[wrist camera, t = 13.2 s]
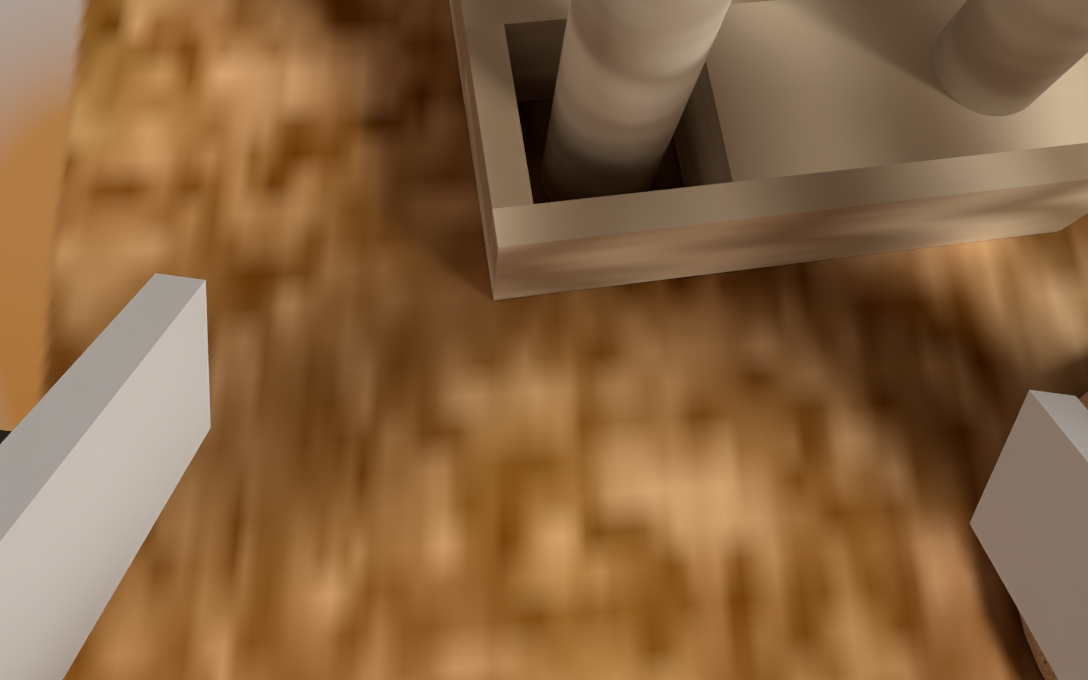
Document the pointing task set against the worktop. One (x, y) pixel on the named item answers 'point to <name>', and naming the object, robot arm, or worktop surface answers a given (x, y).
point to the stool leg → (623, 91)
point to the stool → (797, 138)
